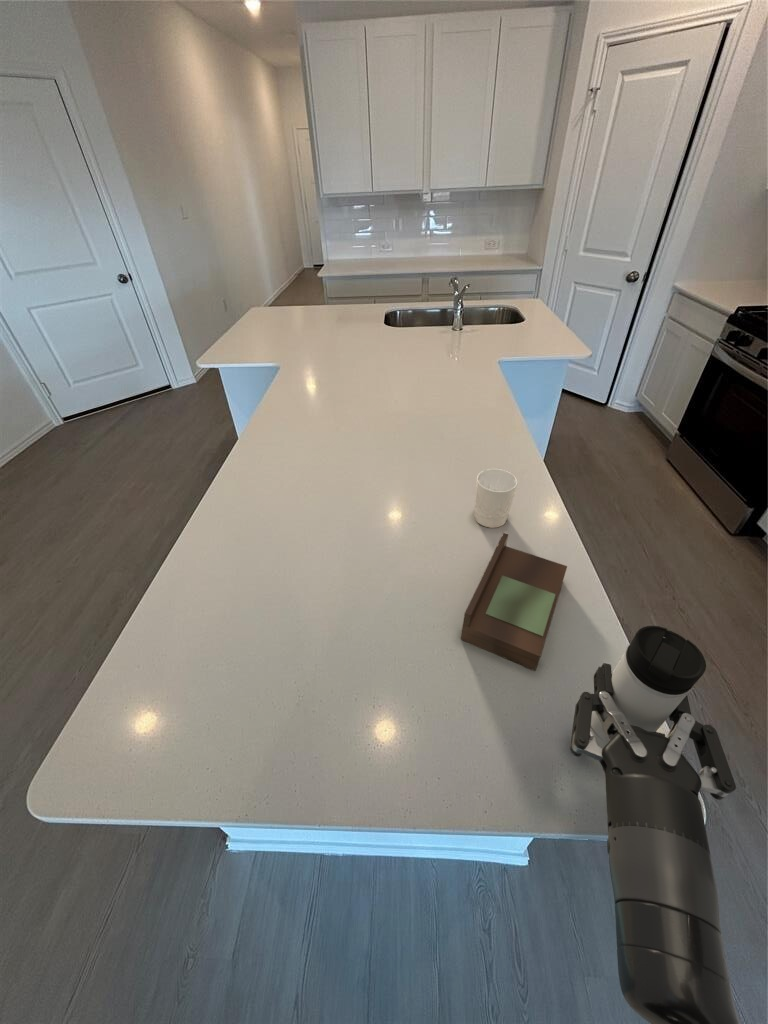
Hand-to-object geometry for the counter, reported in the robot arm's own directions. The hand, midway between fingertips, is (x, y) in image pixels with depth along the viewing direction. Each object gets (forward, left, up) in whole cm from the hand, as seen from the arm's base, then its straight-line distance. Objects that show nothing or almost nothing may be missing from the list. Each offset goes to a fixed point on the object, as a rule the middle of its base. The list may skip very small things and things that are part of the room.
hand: (637, 676), depth 49 cm
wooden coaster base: (+16, -16, -16) cm, 27 cm away
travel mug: (0, +2, -11) cm, 11 cm away
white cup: (+27, -37, -16) cm, 48 cm away
